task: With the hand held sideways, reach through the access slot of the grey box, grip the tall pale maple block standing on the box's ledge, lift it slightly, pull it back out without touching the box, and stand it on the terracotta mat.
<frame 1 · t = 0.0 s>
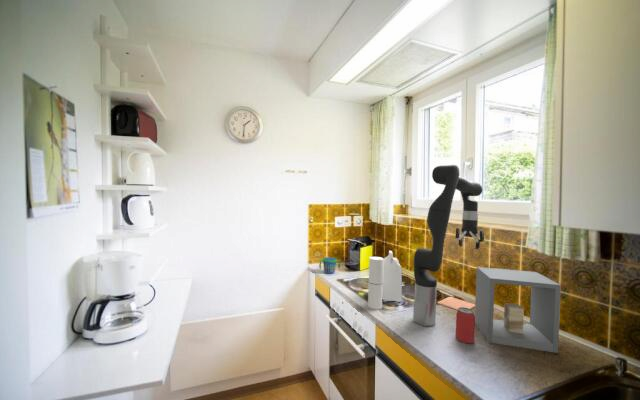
hand: (468, 247, 148), 29 cm above the worktop, tool pointing down, fingers open, 8 cm apart
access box: (512, 336, 109), on the worktop
milk: (389, 298, 148), on the worktop
snack cup: (329, 273, 193), on the worktop
beer can: (464, 340, 106), on the worktop
maple block: (513, 329, 109), point 3 cm above the worktop, touching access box
terracotta mat: (456, 304, 141), on the worktop
cylindrical container: (375, 306, 136), on the worktop
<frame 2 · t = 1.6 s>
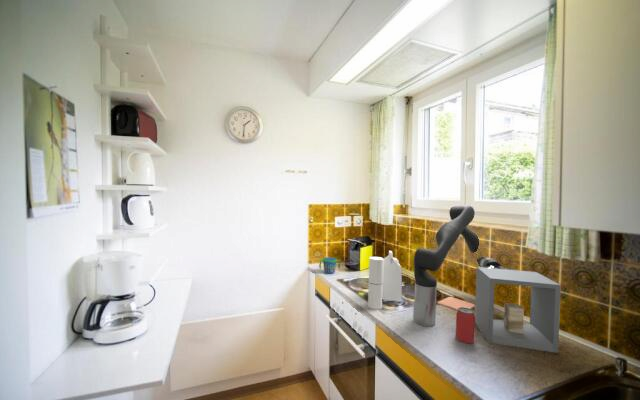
hand: (503, 275, 121), 22 cm above the worktop, tool horizontal, fingers open, 8 cm apart
nothing on the worktop moved.
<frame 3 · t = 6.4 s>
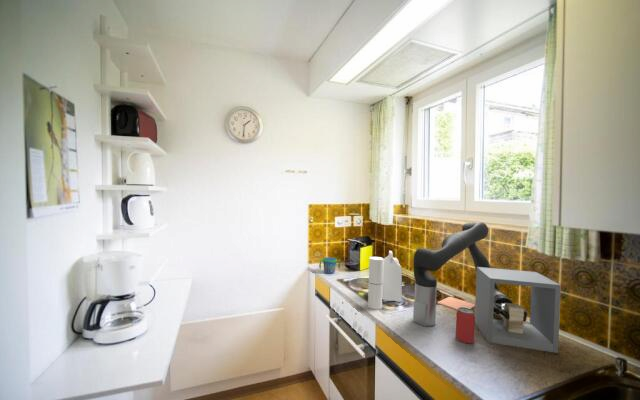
hand: (516, 318, 107), 9 cm above the worktop, tool horizontal, fingers closed on maple block, 5 cm apart
maple block: (513, 329, 109), point 3 cm above the worktop, touching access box, gripper
everything else where it was.
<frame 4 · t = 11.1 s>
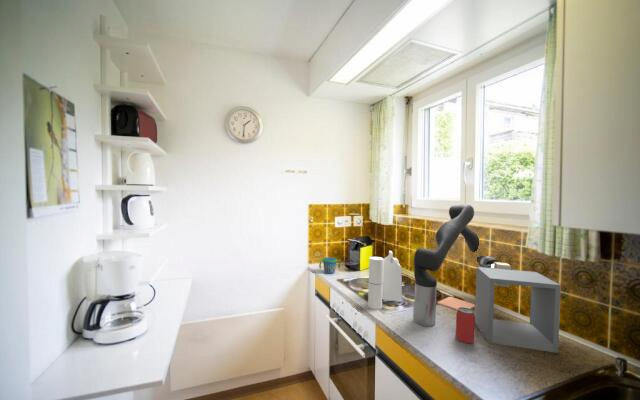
hand: (503, 273, 120), 23 cm above the worktop, tool horizontal, fingers closed on maple block, 5 cm apart
maple block: (500, 284, 122), point 17 cm above the worktop, touching gripper
everything else where it was.
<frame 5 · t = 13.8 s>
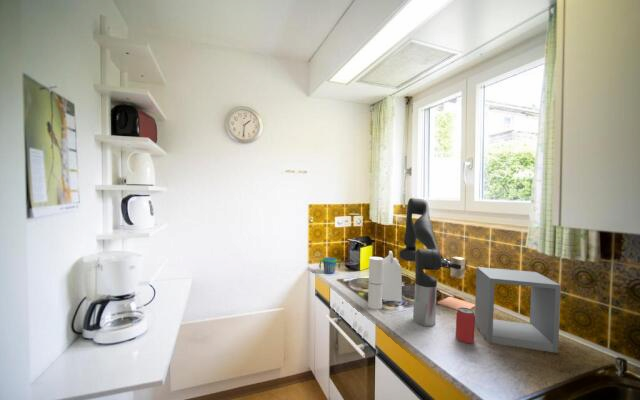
hand: (463, 266, 138), 21 cm above the worktop, tool horizontal, fingers closed on maple block, 5 cm apart
maple block: (457, 276, 141), point 15 cm above the worktop, touching gripper
everything else where it was.
when the fingers open (8 cm above the worktop, at t = 16.0 s): maple block drops 1 cm, resting on terracotta mat.
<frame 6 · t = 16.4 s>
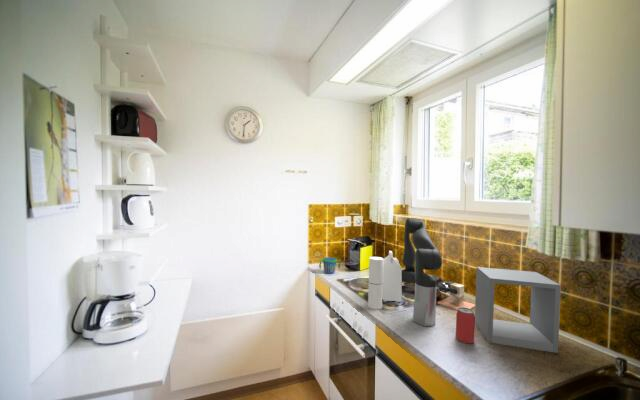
hand: (460, 290, 139), 8 cm above the worktop, tool horizontal, fingers open, 8 cm apart
maple block: (456, 303, 141), point 1 cm above the worktop, touching terracotta mat
everything else where it was.
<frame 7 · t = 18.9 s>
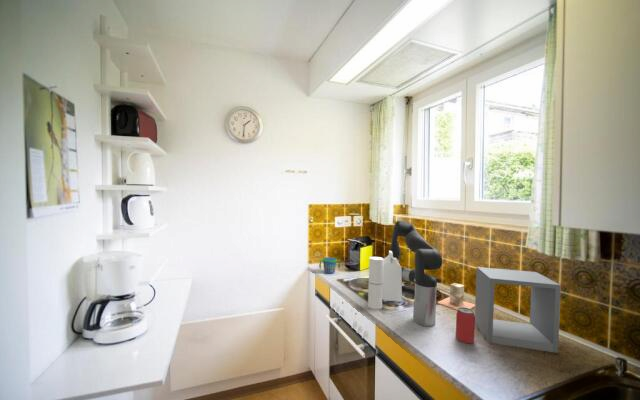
hand: (437, 282, 149), 9 cm above the worktop, tool horizontal, fingers open, 8 cm apart
nothing on the worktop moved.
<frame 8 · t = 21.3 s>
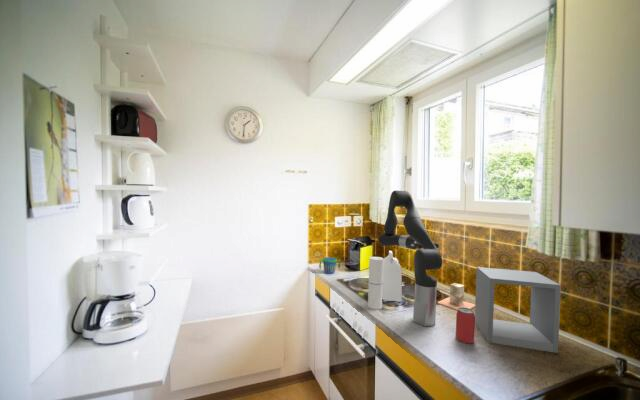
hand: (434, 246, 144), 30 cm above the worktop, tool horizontal, fingers open, 8 cm apart
nothing on the worktop moved.
at the end: maple block inside the target area (0.1 cm from its centre), point 0.6 cm above the worktop; maple block tilted 0°; the gripper is holding nothing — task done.
